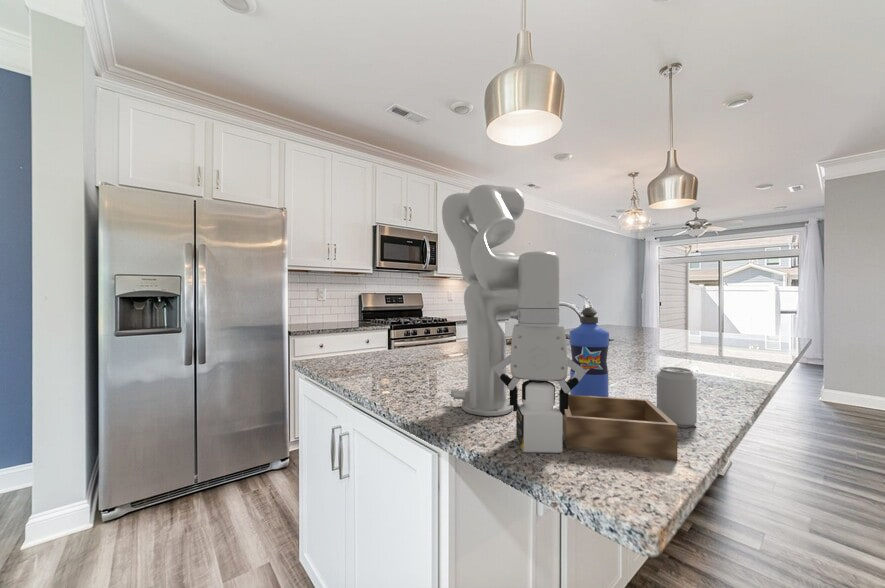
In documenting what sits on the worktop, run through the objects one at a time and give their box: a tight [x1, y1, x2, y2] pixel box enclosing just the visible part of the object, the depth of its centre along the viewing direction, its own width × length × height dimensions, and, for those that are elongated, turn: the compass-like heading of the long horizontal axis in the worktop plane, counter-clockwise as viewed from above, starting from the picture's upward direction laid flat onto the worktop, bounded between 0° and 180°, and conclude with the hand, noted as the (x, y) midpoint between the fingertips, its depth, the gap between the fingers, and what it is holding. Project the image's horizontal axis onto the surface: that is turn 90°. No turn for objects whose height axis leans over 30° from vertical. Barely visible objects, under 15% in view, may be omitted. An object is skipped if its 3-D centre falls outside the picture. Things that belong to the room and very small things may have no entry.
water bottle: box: [569, 307, 610, 397], centre depth 93 cm, size 9×9×25 cm
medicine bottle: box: [515, 380, 563, 454], centre depth 69 cm, size 7×7×12 cm
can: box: [656, 366, 698, 428], centre depth 82 cm, size 8×8×12 cm
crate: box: [562, 394, 678, 461], centre depth 73 cm, size 18×16×6 cm
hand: (538, 410), depth 69 cm, fingers closed on medicine bottle, 8 cm apart
